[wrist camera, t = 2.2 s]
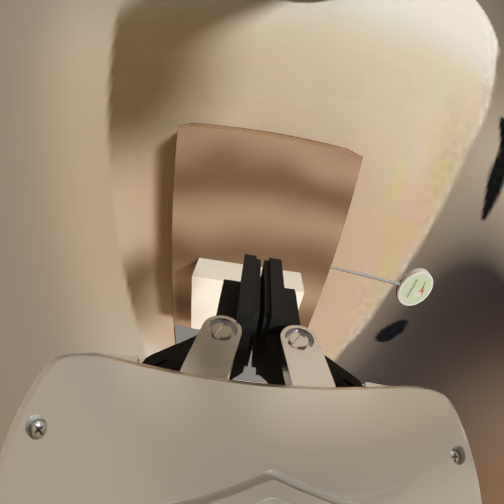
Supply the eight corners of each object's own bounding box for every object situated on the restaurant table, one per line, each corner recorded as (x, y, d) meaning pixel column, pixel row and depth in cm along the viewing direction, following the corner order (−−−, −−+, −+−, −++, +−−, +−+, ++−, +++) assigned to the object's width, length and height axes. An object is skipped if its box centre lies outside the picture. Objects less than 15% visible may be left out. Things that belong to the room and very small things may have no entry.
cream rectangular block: (199, 257, 24) (192, 276, 21) (300, 272, 24) (304, 292, 21) (196, 308, 27) (191, 328, 24) (285, 321, 27) (287, 341, 24)
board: (191, 122, 21) (178, 125, 18) (348, 149, 22) (362, 157, 19) (182, 301, 31) (173, 324, 28) (298, 317, 32) (301, 342, 28)
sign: (339, 246, 27) (439, 276, 28) (337, 243, 27) (436, 272, 29) (321, 286, 29) (419, 308, 30) (320, 282, 30) (417, 304, 31)
